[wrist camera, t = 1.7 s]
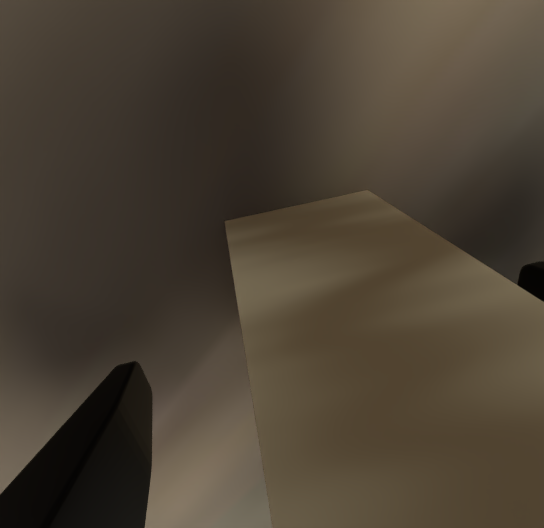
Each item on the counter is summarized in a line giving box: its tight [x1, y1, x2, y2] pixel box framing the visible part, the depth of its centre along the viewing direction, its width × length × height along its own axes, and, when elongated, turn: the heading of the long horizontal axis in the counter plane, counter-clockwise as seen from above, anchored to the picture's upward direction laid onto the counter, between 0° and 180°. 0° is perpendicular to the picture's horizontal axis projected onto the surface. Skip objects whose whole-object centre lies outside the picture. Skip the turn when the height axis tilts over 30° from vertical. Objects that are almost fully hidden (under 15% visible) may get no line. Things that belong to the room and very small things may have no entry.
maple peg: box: [224, 190, 544, 528], centre depth 7 cm, size 4×4×8 cm
